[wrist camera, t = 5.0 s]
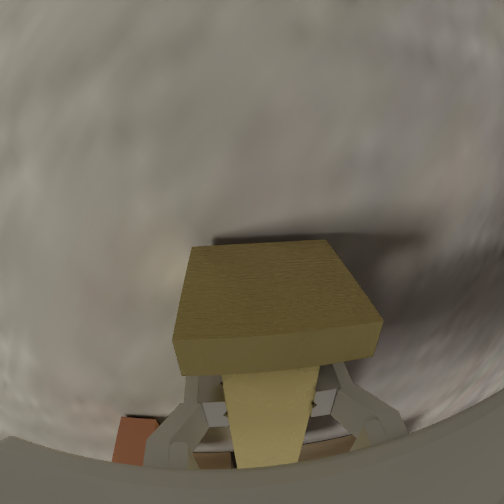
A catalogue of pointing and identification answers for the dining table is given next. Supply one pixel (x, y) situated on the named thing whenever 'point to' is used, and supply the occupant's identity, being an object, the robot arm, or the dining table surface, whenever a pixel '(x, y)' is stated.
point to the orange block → (133, 440)
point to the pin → (270, 335)
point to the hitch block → (306, 453)
